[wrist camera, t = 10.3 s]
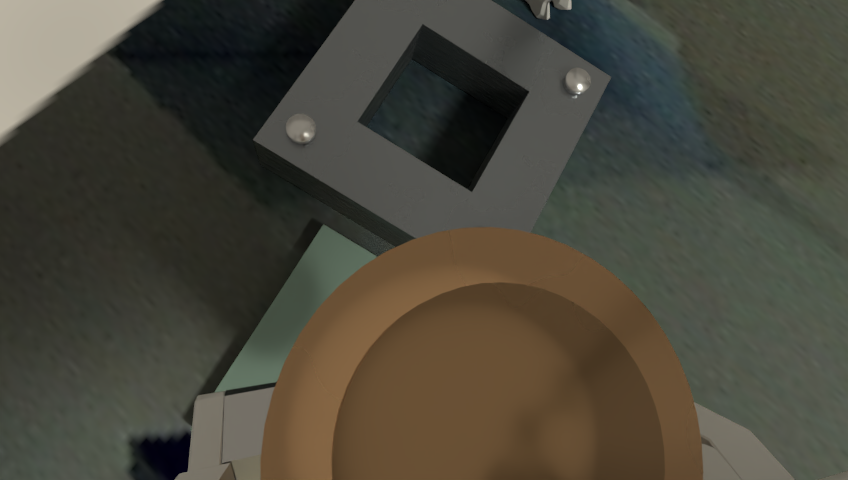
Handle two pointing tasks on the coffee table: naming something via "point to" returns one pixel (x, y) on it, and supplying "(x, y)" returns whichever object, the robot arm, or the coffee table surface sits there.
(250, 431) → the robot arm
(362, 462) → the copper plug
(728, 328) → the coffee table surface
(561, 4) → the human figurine
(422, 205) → the housing
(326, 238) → the mat
